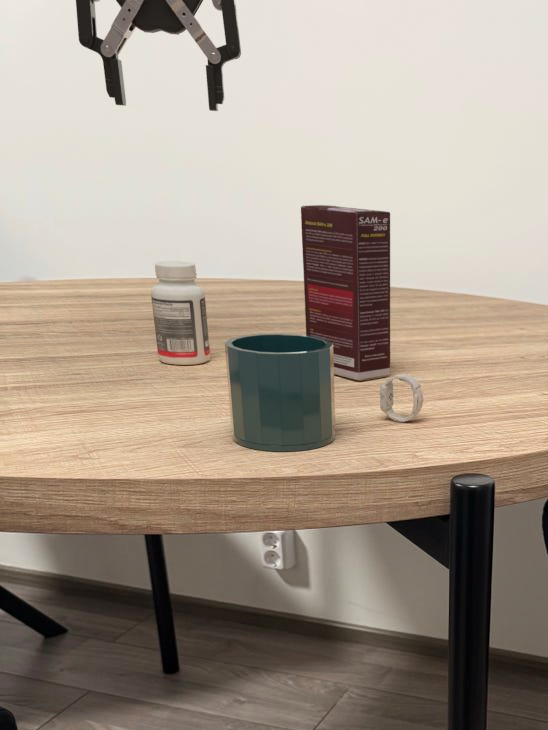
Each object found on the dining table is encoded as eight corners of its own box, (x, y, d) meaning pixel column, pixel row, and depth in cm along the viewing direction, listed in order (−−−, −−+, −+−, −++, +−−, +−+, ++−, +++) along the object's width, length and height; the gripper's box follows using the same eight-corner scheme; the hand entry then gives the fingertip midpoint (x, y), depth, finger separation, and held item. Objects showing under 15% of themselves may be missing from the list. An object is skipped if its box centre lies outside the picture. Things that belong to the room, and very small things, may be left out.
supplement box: (393, 376, 99) (393, 210, 91) (358, 382, 96) (355, 211, 88) (339, 362, 104) (335, 204, 96) (304, 367, 101) (297, 204, 93)
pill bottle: (183, 353, 104) (174, 258, 100) (221, 360, 102) (213, 263, 98) (147, 361, 100) (136, 262, 95) (186, 368, 98) (176, 267, 93)
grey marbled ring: (425, 420, 84) (426, 374, 82) (417, 425, 82) (417, 379, 80) (388, 415, 85) (387, 370, 83) (379, 421, 83) (378, 375, 81)
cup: (240, 454, 73) (233, 355, 69) (226, 426, 79) (219, 334, 76) (345, 448, 75) (343, 352, 72) (322, 421, 82) (319, 332, 78)
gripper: (52, -122, 78) (81, 102, 86) (228, -106, 81) (242, 111, 88) (70, -103, 85) (96, 105, 92) (233, -88, 87) (245, 113, 95)
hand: (167, 108), depth 90 cm, fingers open, 8 cm apart
